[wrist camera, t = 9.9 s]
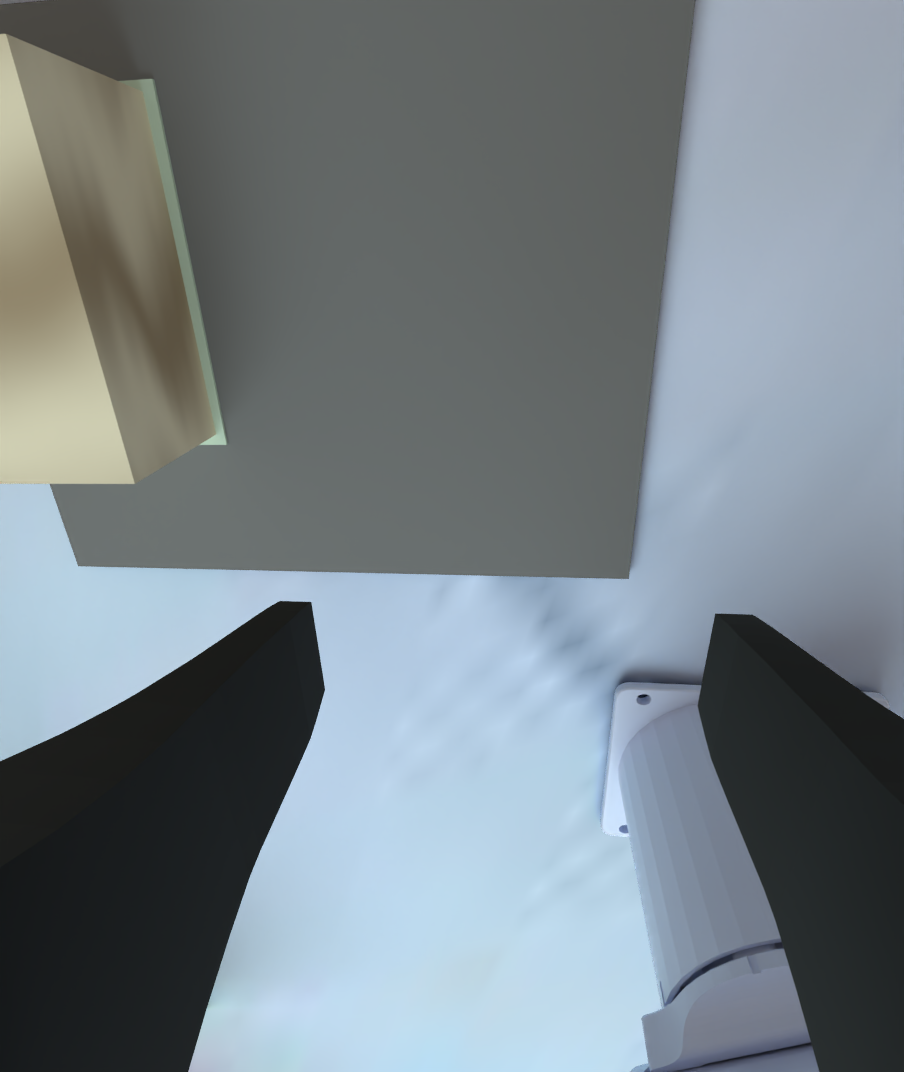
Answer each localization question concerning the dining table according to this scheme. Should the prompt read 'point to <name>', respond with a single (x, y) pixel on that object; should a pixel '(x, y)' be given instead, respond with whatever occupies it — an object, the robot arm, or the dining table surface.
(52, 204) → the maple block
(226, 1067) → the dining table surface
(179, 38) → the rubber mat
